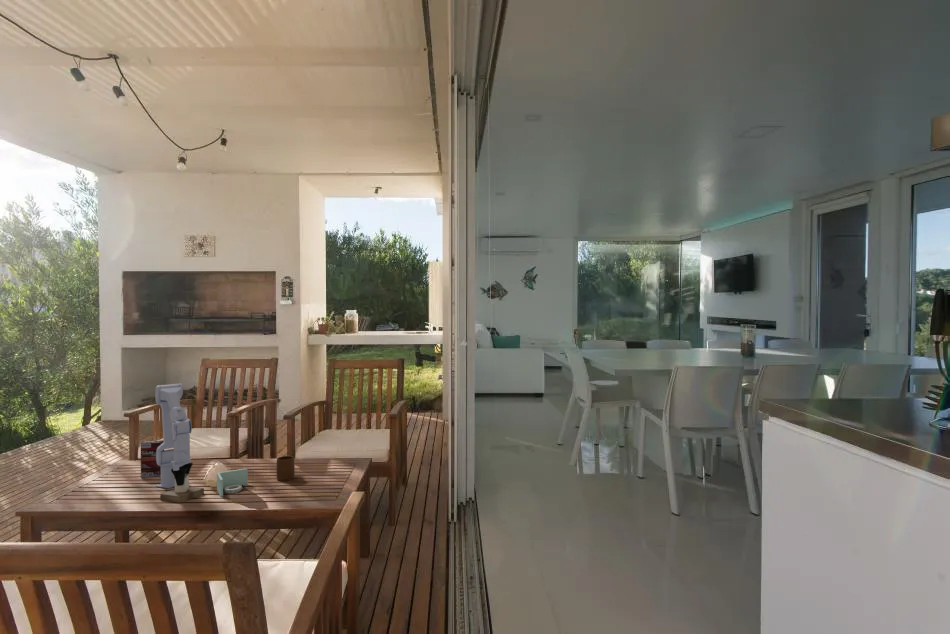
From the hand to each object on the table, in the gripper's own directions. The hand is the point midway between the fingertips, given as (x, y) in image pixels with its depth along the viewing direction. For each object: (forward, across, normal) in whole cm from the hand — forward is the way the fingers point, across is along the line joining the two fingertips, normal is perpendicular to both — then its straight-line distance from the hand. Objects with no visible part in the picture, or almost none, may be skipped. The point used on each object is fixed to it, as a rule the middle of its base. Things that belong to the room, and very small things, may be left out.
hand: (182, 483), depth 214 cm
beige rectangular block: (+3, 0, 0) cm, 3 cm away
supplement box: (+6, -37, -24) cm, 44 cm away
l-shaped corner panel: (+6, -4, +19) cm, 20 cm away
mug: (+6, -17, +38) cm, 42 cm away
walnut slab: (+6, 0, 0) cm, 6 cm away
